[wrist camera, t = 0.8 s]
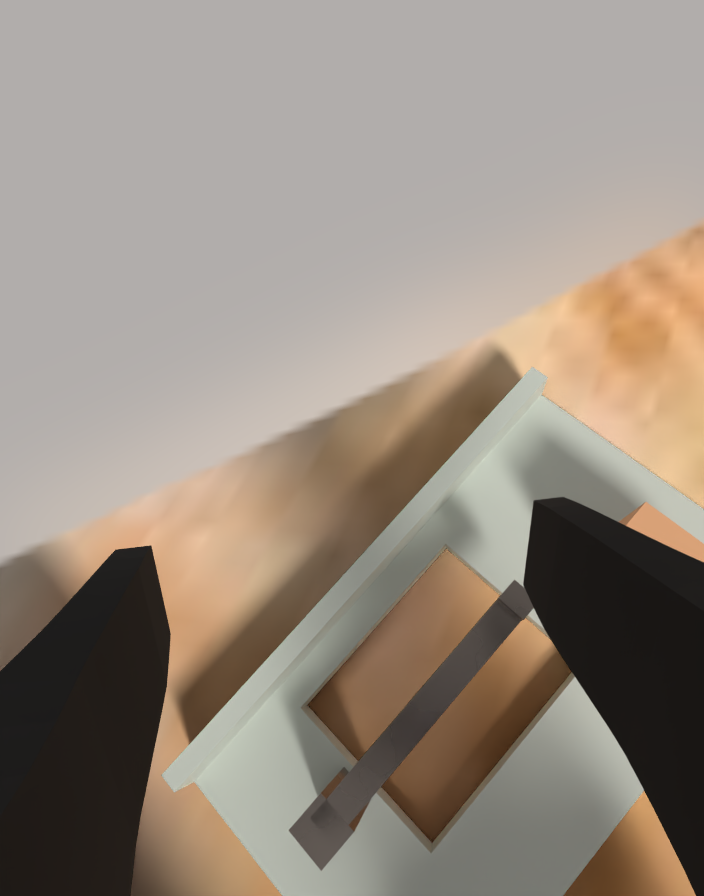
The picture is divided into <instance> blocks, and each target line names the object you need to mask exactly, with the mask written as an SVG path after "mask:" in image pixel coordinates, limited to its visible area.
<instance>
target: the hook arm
mask: <svg viewBox="0 0 704 896" xmlns="http://www.w3.org/2000/svg"><path fill="white" fill-rule="evenodd" d="M533 608H534V607H533V605H532V603H531V601H530V599H529V596H528V594H527V592H526V590H525V588H524V587H523V586H522V585H520V584H519V583H518V582H517V581H516V580H514V581H513V582H512V583H511V584H510V585H509V586H508V587H507V588H506V589H505V591H504V592H503V593H502V594H501V595H500V596H499V598H498V599H497V600H496V601H495V602H494V603H493V605H492V606H491V607H490V608H489V609H488V610H487V612H486V613H485V614H484V615H483V616H482V617H481V619H480V620H479V621H478V622H477V623H476V624H475V626H474V627H473V628H472V629H471V630H470V631H469V633H468V634H467V635H466V636H465V637H464V638H463V640H462V641H461V642H460V643H459V644H458V646H457V647H456V648H455V649H454V650H453V651H452V653H451V654H450V655H449V656H448V657H447V658H446V660H445V661H444V662H443V663H442V664H441V665H440V667H439V668H438V669H437V670H436V671H435V672H434V674H433V675H432V676H431V677H430V678H429V679H428V681H427V682H426V683H425V684H424V685H423V686H422V688H421V689H420V690H419V691H418V692H417V693H416V695H415V696H414V697H413V698H412V699H411V700H410V702H409V703H408V704H407V705H406V706H405V707H404V709H403V710H402V711H401V712H400V713H399V714H398V716H397V717H396V718H395V719H394V720H393V721H392V723H391V724H390V725H389V726H388V727H387V728H386V730H385V731H384V732H383V733H382V734H381V735H380V737H379V738H378V739H377V740H376V741H375V742H374V744H373V745H372V746H371V747H370V748H369V749H368V751H367V752H366V753H365V754H364V755H363V756H362V758H361V759H360V760H359V761H358V762H357V763H356V765H355V766H354V767H353V768H352V769H351V771H350V772H348V770H347V769H346V768H345V767H343V768H342V770H341V771H340V772H339V773H338V774H337V775H336V776H335V777H334V779H333V780H332V781H331V782H330V783H329V784H328V785H327V786H326V788H325V789H324V790H323V791H322V792H321V793H320V794H319V796H318V797H317V798H316V799H315V800H314V801H313V802H312V804H311V805H310V806H309V807H308V808H307V809H306V811H305V812H304V813H303V814H302V815H301V816H300V818H299V819H298V820H297V821H296V822H295V823H294V825H293V826H292V827H291V828H290V829H289V830H288V831H289V832H290V833H291V834H292V836H293V837H294V838H295V839H296V841H297V842H298V843H299V844H300V845H301V847H302V848H303V849H304V850H305V852H306V853H307V854H308V855H309V857H310V858H311V859H312V860H313V861H314V863H315V864H316V865H317V866H318V868H319V869H320V870H321V871H322V870H323V868H324V867H325V866H326V865H327V864H328V862H329V861H330V860H331V859H332V858H333V857H334V855H335V854H336V853H337V852H338V851H339V849H340V848H341V847H342V846H343V845H344V843H345V842H346V841H347V840H348V839H349V837H350V836H351V835H352V834H353V833H354V831H355V829H356V827H357V826H358V824H359V822H360V820H361V818H362V816H363V814H364V812H365V810H366V808H367V806H368V805H369V803H370V801H371V799H372V797H373V796H374V794H375V793H376V792H377V791H378V790H379V788H380V787H381V786H382V785H383V784H384V783H385V781H386V780H387V779H388V778H389V777H390V775H391V774H392V773H393V772H394V771H395V770H396V768H397V767H398V766H399V765H400V764H401V762H402V761H403V760H404V759H405V758H406V756H407V755H408V754H409V753H410V752H411V751H412V749H413V748H414V747H415V746H416V745H417V743H418V742H419V741H420V740H421V739H422V737H423V736H424V735H425V734H426V733H427V732H428V730H429V729H430V728H431V727H432V726H433V724H434V723H435V722H436V721H437V720H438V719H439V717H440V716H441V715H442V714H443V713H444V711H445V710H446V709H447V708H448V707H449V705H450V704H451V703H452V702H453V701H454V700H455V698H456V697H457V696H458V695H459V694H460V692H461V691H462V690H463V689H464V688H465V687H466V685H467V684H468V683H469V682H470V681H471V679H472V678H473V677H474V676H475V675H476V673H477V672H478V671H479V670H480V669H481V668H482V666H483V665H484V664H485V663H486V662H487V660H488V659H489V658H490V657H491V656H492V655H493V653H494V652H495V651H496V650H497V649H498V647H499V646H500V645H501V644H502V643H503V641H504V640H505V639H506V638H507V637H508V636H509V634H510V633H511V632H512V631H513V630H514V628H515V627H516V626H517V625H518V624H519V623H520V621H522V620H524V619H525V618H526V617H527V615H528V614H529V613H530V612H531V611H532V609H533Z"/></svg>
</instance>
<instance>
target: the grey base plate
mask: <svg viewBox="0 0 704 896" xmlns="http://www.w3.org/2000/svg"><path fill="white" fill-rule="evenodd" d="M547 378H548V377H546V376H545V375H543V374H542V373H541V372H539V371H538V370H536V369H535V368H533V367H532V368H531V369H530V370H529V371H528V372H527V373H526V374H525V375H524V377H523V378H522V379H521V380H520V381H519V382H518V383H517V384H516V385H515V386H514V388H513V389H512V390H511V391H510V392H509V393H508V394H507V395H506V396H505V397H504V399H503V400H502V401H501V402H500V403H499V404H498V405H497V406H496V407H495V408H494V410H493V411H492V412H491V413H490V414H489V415H488V416H487V417H486V418H485V419H484V421H483V422H482V423H481V424H480V425H479V426H478V427H477V428H476V429H475V430H474V432H473V433H472V434H471V435H470V436H469V437H468V438H467V439H466V440H465V442H464V443H463V444H462V445H461V446H460V447H459V448H458V449H457V450H456V451H455V453H454V454H453V455H452V456H451V457H450V458H449V459H448V460H447V461H446V462H445V464H444V465H443V466H442V467H441V468H440V469H439V470H438V471H437V472H436V473H435V475H434V476H433V477H432V478H431V479H430V480H429V481H428V482H427V483H426V484H425V486H424V487H423V488H422V489H421V490H420V491H419V492H418V493H417V494H416V495H415V497H414V498H413V499H412V500H411V501H410V502H409V503H408V504H407V505H406V506H405V508H404V509H403V510H402V511H401V512H400V513H399V514H398V515H397V516H396V517H395V519H394V520H393V521H392V522H391V523H390V524H389V525H388V526H387V527H386V528H385V530H384V531H383V532H382V533H381V534H380V535H379V536H378V537H377V538H376V540H375V541H374V542H373V543H372V544H371V545H370V546H369V547H368V548H367V549H366V551H365V552H364V553H363V554H362V555H361V556H360V557H359V558H358V559H357V560H356V562H355V563H354V564H353V565H352V566H351V567H350V568H349V569H348V570H347V571H346V573H345V574H344V575H343V576H342V577H341V578H340V579H339V580H338V581H337V582H336V584H335V585H334V586H333V587H332V588H331V589H330V590H329V591H328V592H327V593H326V595H325V596H324V597H323V598H322V599H321V600H320V601H319V602H318V603H317V604H316V606H315V607H314V608H313V609H312V610H311V611H310V612H309V613H308V614H307V615H306V617H305V618H304V619H303V620H302V621H301V622H300V623H299V624H298V625H297V626H296V628H295V629H294V630H293V631H292V632H291V633H290V634H289V635H288V636H287V637H286V639H285V640H284V641H283V642H282V643H281V644H280V645H279V646H278V647H277V649H276V650H275V651H274V652H273V653H272V654H271V655H270V656H269V657H268V658H267V660H266V661H265V662H264V663H263V664H262V665H261V666H260V667H259V668H258V669H257V671H256V672H255V673H254V674H253V675H252V676H251V677H250V678H249V679H248V680H247V682H246V683H245V684H244V685H243V686H242V687H241V688H240V689H239V690H238V691H237V693H236V694H235V695H234V696H233V697H232V698H231V699H230V700H229V701H228V702H227V704H226V705H225V706H224V707H223V708H222V709H221V710H220V711H219V712H218V713H217V715H216V716H215V717H214V718H213V719H212V720H211V721H210V722H209V723H208V724H207V726H206V727H205V728H204V729H203V730H202V731H201V732H200V733H199V734H198V735H197V737H196V738H195V739H194V740H193V741H192V742H191V743H190V744H189V745H188V746H187V748H186V749H185V750H184V751H183V752H182V753H181V754H180V755H179V756H178V758H177V759H176V760H175V761H174V762H173V763H172V764H171V765H170V766H169V767H168V769H167V770H166V771H165V772H164V773H163V774H162V775H161V776H162V777H163V778H164V780H165V781H166V782H167V784H168V785H169V786H170V788H171V789H172V790H173V791H174V792H176V791H178V790H180V789H182V788H184V787H186V786H187V785H189V784H191V783H193V782H195V783H196V785H197V786H198V787H199V789H200V790H201V791H202V792H203V794H204V795H205V796H206V798H207V799H208V800H209V801H210V803H211V804H212V805H213V807H214V808H215V809H216V811H217V812H218V813H219V814H220V816H221V817H222V818H223V820H224V821H225V822H226V823H227V825H228V826H229V827H230V829H231V830H232V831H233V833H234V834H235V835H236V836H237V838H238V839H239V840H240V842H241V843H242V844H243V845H244V847H245V848H246V849H247V851H248V852H249V853H250V855H251V856H252V857H253V858H254V860H255V861H256V862H257V864H258V865H259V866H260V867H261V869H262V870H263V871H264V873H265V874H266V875H267V877H268V878H269V879H270V880H271V882H272V883H273V884H274V886H275V887H276V888H277V889H278V891H279V892H280V893H281V895H282V896H563V895H564V894H565V892H566V891H567V890H568V889H569V887H570V886H571V885H572V883H573V882H574V881H575V879H576V878H577V877H578V876H579V874H580V873H581V872H582V870H583V869H584V868H585V866H586V865H587V864H588V863H589V861H590V860H591V859H592V857H593V856H594V855H595V853H596V852H597V851H598V850H599V848H600V847H601V846H602V844H603V843H604V842H605V840H606V839H607V838H608V837H609V835H610V834H611V833H612V831H613V830H614V829H615V827H616V826H617V825H618V824H619V822H620V821H621V820H622V818H623V817H624V816H625V814H626V813H627V812H628V811H629V809H630V808H631V807H632V805H633V804H634V803H635V801H636V800H637V799H638V798H639V796H640V795H641V794H642V792H643V791H644V789H643V787H642V785H641V784H640V782H639V780H638V778H637V776H636V774H635V772H634V770H633V768H632V767H631V765H630V763H629V761H628V759H627V757H626V755H625V754H624V752H623V750H622V749H621V747H620V745H619V744H618V742H617V740H616V739H615V737H614V735H613V734H612V732H611V730H610V729H609V727H608V726H607V724H606V723H605V721H604V720H603V718H602V717H601V715H600V714H599V712H598V711H597V709H596V708H595V706H594V705H593V703H592V702H591V700H590V699H589V697H588V696H587V694H586V693H585V691H584V690H583V688H582V687H581V685H580V684H579V682H578V681H577V679H576V677H575V676H574V674H573V673H572V672H571V673H570V675H569V676H568V677H567V678H566V680H565V681H564V682H563V683H562V685H561V686H560V687H559V688H558V689H557V691H556V692H555V693H554V694H553V696H552V697H551V698H550V699H549V700H548V702H547V703H546V704H545V705H544V707H543V708H542V709H541V710H540V711H539V713H538V714H537V715H536V716H535V718H534V719H533V720H532V721H531V723H530V724H529V725H528V726H527V727H526V729H525V730H524V731H523V732H522V734H521V735H520V736H519V737H518V738H517V740H516V741H515V742H514V743H513V745H512V746H511V747H510V748H509V749H508V751H507V752H506V753H505V754H504V756H503V757H502V758H501V759H500V760H499V762H498V763H497V764H496V765H495V767H494V768H493V769H492V770H491V772H490V773H489V774H488V775H487V776H486V778H485V779H484V780H483V781H482V783H481V784H480V785H479V786H478V787H477V789H476V790H475V791H474V792H473V794H472V795H471V796H470V797H469V798H468V800H467V801H466V802H465V803H464V805H463V806H462V807H461V808H460V809H459V811H458V812H457V813H456V814H455V816H454V817H453V818H452V819H451V821H450V822H449V823H448V824H447V825H446V827H445V828H444V829H443V830H442V832H441V833H440V834H439V835H438V836H437V838H436V839H435V840H434V841H433V843H432V842H431V841H430V840H429V839H428V838H427V837H426V836H425V835H424V834H423V833H422V831H421V830H420V829H419V828H418V827H417V826H416V825H415V824H414V823H413V821H412V820H411V819H410V818H409V817H408V816H407V815H406V814H405V813H404V812H403V810H402V809H401V808H400V807H399V806H398V805H397V804H396V803H395V802H394V800H393V799H392V798H391V797H390V796H389V795H388V794H387V793H386V792H385V790H384V789H383V788H382V787H380V788H379V790H378V791H377V792H376V793H375V794H374V796H373V797H372V799H371V801H370V803H369V805H368V806H367V808H366V810H365V812H364V814H363V816H362V818H361V820H360V822H359V824H358V826H357V827H356V829H355V831H354V833H353V834H352V835H351V836H350V837H349V839H348V840H347V841H346V842H345V843H344V845H343V846H342V847H341V848H340V849H339V851H338V852H337V853H336V854H335V855H334V857H333V858H332V859H331V860H330V861H329V862H328V864H327V865H326V866H325V867H324V868H323V870H322V871H321V870H320V869H319V868H318V866H317V865H316V864H315V863H314V861H313V860H312V859H311V858H310V857H309V855H308V854H307V853H306V852H305V850H304V849H303V848H302V847H301V845H300V844H299V843H298V842H297V841H296V839H295V838H294V837H293V836H292V834H291V833H290V832H289V831H288V830H289V829H290V828H291V827H292V826H293V825H294V823H295V822H296V821H297V820H298V819H299V818H300V816H301V815H302V814H303V813H304V812H305V811H306V809H307V808H308V807H309V806H310V805H311V804H312V802H313V801H314V800H315V799H316V798H317V797H318V796H319V794H320V793H321V792H322V791H323V790H324V789H325V788H326V786H327V785H328V784H329V783H330V782H331V781H332V780H333V779H334V777H335V776H336V775H337V774H338V773H339V772H340V771H341V770H342V768H343V767H345V768H346V769H347V770H348V772H350V771H351V769H352V768H353V767H354V766H355V765H356V763H357V762H358V761H357V760H356V758H355V757H354V756H353V755H352V754H351V753H350V752H349V751H348V750H347V748H346V747H345V746H344V745H343V744H342V743H341V742H340V741H339V740H338V738H337V737H336V736H335V735H334V734H333V733H332V732H331V731H330V730H329V729H328V727H327V726H326V725H325V724H324V723H323V722H322V721H321V720H320V719H319V717H318V716H317V715H316V714H315V713H314V712H313V711H312V710H311V709H310V708H309V706H308V704H309V702H310V701H311V700H312V699H313V698H314V697H315V696H316V695H317V693H318V692H319V691H320V690H321V689H322V688H323V687H324V686H325V684H326V683H327V682H328V681H329V680H330V679H331V678H332V676H333V675H334V674H335V673H336V672H337V671H338V670H339V669H340V667H341V666H342V665H343V664H344V663H345V662H346V661H347V660H348V658H349V657H350V656H351V655H352V654H353V653H354V652H355V650H356V649H357V648H358V647H359V646H360V645H361V644H362V643H363V641H364V640H365V639H366V638H367V637H368V636H369V635H370V634H371V632H372V631H373V630H374V629H375V628H376V627H377V626H378V624H379V623H380V622H381V621H382V620H383V619H384V618H385V617H386V615H387V614H388V613H389V612H390V611H391V610H392V609H393V608H394V606H395V605H396V604H397V603H398V602H399V601H400V600H401V598H402V597H403V596H404V595H405V594H406V593H407V592H408V591H409V589H410V588H411V587H412V586H413V585H414V584H415V583H416V582H417V580H418V579H419V578H420V577H421V576H422V575H423V574H424V572H425V571H426V570H427V569H428V568H429V567H430V566H431V565H432V563H433V562H434V561H435V560H436V559H437V558H438V557H439V556H440V554H441V553H442V552H443V551H444V550H445V549H447V550H449V551H450V552H451V553H452V554H453V555H454V556H455V557H457V558H458V559H459V560H460V561H461V562H462V563H464V564H465V565H466V566H467V567H468V568H469V569H470V570H472V571H473V572H474V573H475V574H476V575H477V576H478V577H480V578H481V579H482V580H483V581H484V582H485V583H486V584H488V585H489V586H490V587H491V588H492V589H493V590H494V591H496V592H497V593H498V594H499V595H501V594H502V593H503V592H504V591H505V589H506V588H507V587H508V586H509V585H510V584H511V583H512V582H513V581H514V580H516V581H517V582H518V583H519V584H520V585H522V586H523V587H524V585H523V581H524V573H525V565H526V557H527V549H528V541H529V533H530V525H531V517H532V509H533V501H534V500H540V499H548V498H557V497H565V498H568V499H570V500H573V501H575V502H577V503H580V504H582V505H584V506H586V507H589V508H591V509H593V510H595V511H597V512H599V513H601V514H603V515H605V516H607V517H609V518H611V519H613V520H615V521H618V522H619V521H620V520H622V519H623V518H624V517H626V516H627V515H628V514H630V513H631V512H633V511H634V510H635V509H637V508H638V507H639V506H641V505H642V504H643V503H645V502H647V503H648V504H650V505H651V506H653V507H654V508H655V509H657V510H658V511H659V512H661V513H662V514H664V515H665V516H666V517H668V518H669V519H670V520H672V521H673V522H675V523H676V524H677V525H679V526H680V527H681V528H683V529H684V530H686V531H687V532H688V533H690V534H691V535H692V536H694V537H695V538H697V539H698V540H699V541H701V542H702V543H703V544H704V509H703V508H701V507H700V506H699V505H697V504H696V503H694V502H693V501H691V500H690V499H689V498H687V497H686V496H684V495H683V494H682V493H680V492H679V491H677V490H676V489H674V488H673V487H672V486H670V485H669V484H667V483H666V482H665V481H663V480H662V479H660V478H659V477H657V476H656V475H655V474H653V473H652V472H650V471H649V470H648V469H646V468H645V467H643V466H642V465H640V464H639V463H638V462H636V461H635V460H633V459H632V458H631V457H629V456H628V455H626V454H625V453H623V452H622V451H621V450H619V449H618V448H616V447H615V446H614V445H612V444H611V443H609V442H608V441H606V440H605V439H604V438H602V437H601V436H599V435H598V434H597V433H595V432H594V431H592V430H591V429H589V428H588V427H587V426H585V425H584V424H582V423H581V422H580V421H578V420H577V419H575V418H574V417H572V416H571V415H570V414H568V413H567V412H565V411H564V410H563V409H561V408H560V407H558V406H557V405H555V404H554V403H553V402H551V401H550V400H548V399H547V398H546V397H544V396H543V395H542V392H543V390H544V387H545V384H546V381H547ZM526 618H527V619H528V620H529V621H530V622H531V623H532V624H533V625H535V626H536V627H537V628H538V629H539V630H540V631H541V632H543V633H544V634H545V635H546V636H547V637H548V638H549V636H548V634H547V633H546V631H545V630H544V628H543V626H542V624H541V622H540V620H539V618H538V616H537V614H536V612H535V610H534V608H533V609H532V611H531V612H530V613H529V614H528V615H527V617H526ZM549 639H550V638H549Z"/></svg>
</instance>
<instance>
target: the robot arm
mask: <svg viewBox="0 0 704 896" xmlns="http://www.w3.org/2000/svg"><path fill="white" fill-rule="evenodd" d="M523 585H524V588H525V590H526V592H527V594H528V596H529V599H530V601H531V603H532V605H533V607H534V610H535V612H536V614H537V616H538V618H539V620H540V622H541V624H542V626H543V628H544V630H545V631H546V633H547V634H548V636H549V638H550V639H551V641H552V642H553V644H554V645H555V647H556V648H557V650H558V652H559V653H560V655H561V656H562V658H563V659H564V661H565V662H566V664H567V665H568V667H569V668H570V670H571V671H572V673H573V674H574V676H575V677H576V679H577V681H578V682H579V684H580V685H581V687H582V688H583V690H584V691H585V693H586V694H587V696H588V697H589V699H590V700H591V702H592V703H593V705H594V706H595V708H596V709H597V711H598V712H599V714H600V715H601V717H602V718H603V720H604V721H605V723H606V724H607V726H608V727H609V729H610V730H611V732H612V734H613V735H614V737H615V739H616V740H617V742H618V744H619V745H620V747H621V749H622V750H623V752H624V754H625V755H626V757H627V759H628V761H629V763H630V765H631V767H632V768H633V770H634V772H635V774H636V776H637V778H638V780H639V782H640V784H641V785H642V787H643V789H644V791H645V793H646V795H647V797H648V799H649V801H650V802H651V804H652V806H653V808H654V810H655V812H656V814H657V816H658V818H659V820H660V822H661V824H662V826H663V828H664V830H665V832H666V834H667V836H668V838H669V840H670V842H671V844H672V846H673V848H674V850H675V852H676V854H677V856H678V858H679V860H680V862H681V864H682V866H683V868H684V870H685V872H686V875H687V877H688V879H689V881H690V883H691V885H692V888H693V890H694V892H695V894H696V896H704V562H702V561H700V560H697V559H695V558H693V557H691V556H689V555H686V554H684V553H682V552H680V551H678V550H675V549H673V548H671V547H669V546H667V545H665V544H663V543H661V542H658V541H656V540H654V539H652V538H650V537H648V536H646V535H644V534H642V533H640V532H638V531H636V530H634V529H632V528H630V527H628V526H626V525H624V524H622V523H620V522H618V521H615V520H613V519H611V518H609V517H607V516H605V515H603V514H601V513H599V512H597V511H595V510H593V509H591V508H589V507H586V506H584V505H582V504H580V503H577V502H575V501H573V500H570V499H568V498H565V497H557V498H548V499H540V500H534V501H533V509H532V517H531V525H530V533H529V541H528V549H527V557H526V565H525V573H524V581H523ZM170 635H171V633H170V629H169V624H168V620H167V615H166V611H165V606H164V601H163V597H162V592H161V588H160V583H159V579H158V574H157V570H156V565H155V561H154V556H153V552H152V547H151V546H143V547H135V548H127V549H118V550H115V551H114V552H113V553H112V554H111V555H110V556H109V557H108V559H107V560H106V561H105V562H104V563H103V564H102V565H101V566H100V567H99V569H98V570H97V571H96V572H95V573H94V574H93V575H92V576H91V577H90V579H89V580H88V581H87V582H86V583H85V584H84V585H83V586H82V588H81V589H80V590H79V591H78V592H77V593H76V594H75V595H74V596H73V598H72V599H71V600H70V601H69V602H68V603H67V604H66V605H65V606H64V607H63V608H62V610H61V611H60V612H59V613H58V614H57V615H56V616H55V617H54V618H53V619H52V620H51V621H50V622H49V624H48V625H47V626H46V627H45V628H44V629H43V630H42V631H41V632H40V633H39V634H38V635H37V636H36V637H35V638H34V639H33V640H32V641H31V642H30V643H29V644H28V645H27V646H26V647H25V648H24V649H23V650H22V651H21V652H20V653H19V654H18V655H17V656H16V657H14V658H13V659H12V660H11V661H10V662H9V663H8V664H7V665H6V666H5V667H4V668H3V669H2V670H1V671H0V896H130V893H131V884H132V874H133V865H134V856H135V847H136V841H137V835H138V828H139V822H140V816H141V811H142V806H143V801H144V796H145V792H146V787H147V782H148V777H149V772H150V767H151V762H152V757H153V752H154V748H155V743H156V738H157V733H158V728H159V723H160V718H161V713H162V708H163V703H164V698H165V692H166V687H167V676H168V664H169V650H170Z"/></svg>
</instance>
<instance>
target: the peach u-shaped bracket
mask: <svg viewBox="0 0 704 896" xmlns="http://www.w3.org/2000/svg"><path fill="white" fill-rule="evenodd" d="M619 522H620V523H622V524H624V525H626V526H628V527H630V528H632V529H634V530H636V531H638V532H640V533H642V534H644V535H646V536H648V537H650V538H652V539H654V540H656V541H658V542H661V543H663V544H665V545H667V546H669V547H671V548H673V549H675V550H678V551H680V552H682V553H684V554H686V555H689V556H691V557H693V558H695V559H697V560H700V561H702V562H704V544H703V543H702V542H701V541H699V540H698V539H697V538H695V537H694V536H692V535H691V534H690V533H688V532H687V531H686V530H684V529H683V528H681V527H680V526H679V525H677V524H676V523H675V522H673V521H672V520H670V519H669V518H668V517H666V516H665V515H664V514H662V513H661V512H659V511H658V510H657V509H655V508H654V507H653V506H651V505H650V504H648V503H647V502H645V503H643V504H642V505H641V506H639V507H638V508H637V509H635V510H634V511H633V512H631V513H630V514H628V515H627V516H626V517H624V518H623V519H622V520H620V521H619Z"/></svg>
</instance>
